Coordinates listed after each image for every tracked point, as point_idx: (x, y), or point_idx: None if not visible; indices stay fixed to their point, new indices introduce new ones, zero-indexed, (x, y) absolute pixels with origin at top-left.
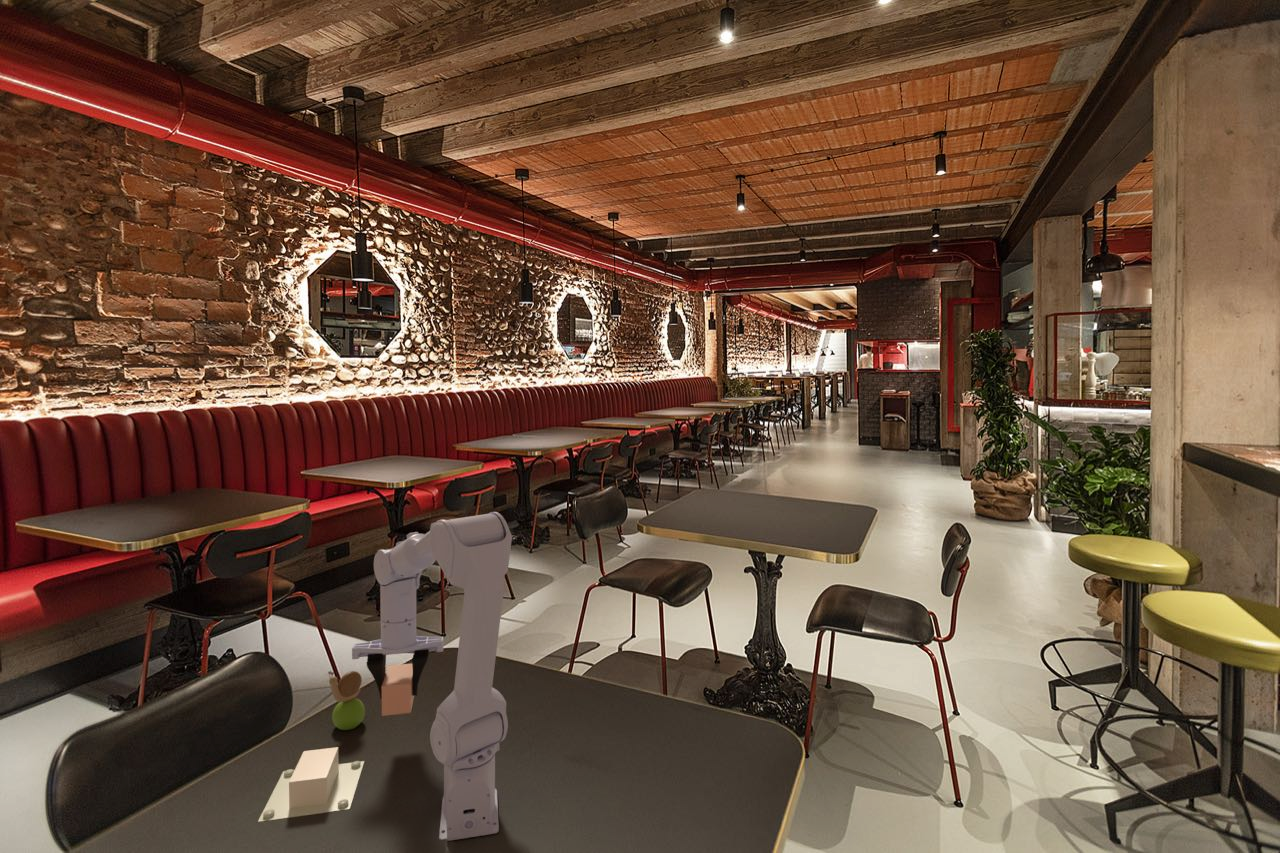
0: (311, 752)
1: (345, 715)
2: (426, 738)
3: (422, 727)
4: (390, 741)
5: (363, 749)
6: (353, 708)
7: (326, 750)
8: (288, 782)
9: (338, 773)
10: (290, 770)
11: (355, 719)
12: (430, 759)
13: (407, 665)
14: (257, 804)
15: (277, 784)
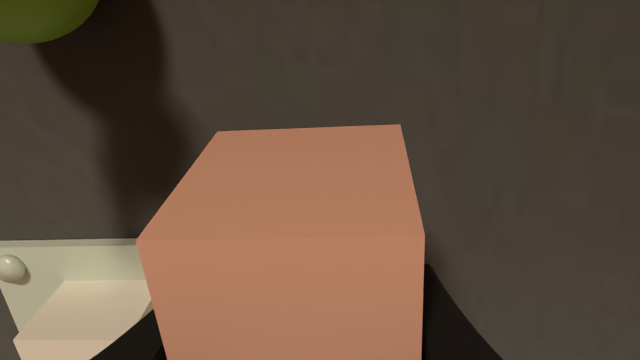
0: (46, 352)
1: (17, 41)
2: (436, 107)
3: (412, 6)
4: (286, 104)
5: (194, 143)
6: (30, 17)
7: (94, 351)
8: (36, 303)
9: None
10: (6, 265)
11: (78, 25)
12: (457, 248)
13: (343, 272)
14: (8, 346)
15: (10, 305)
